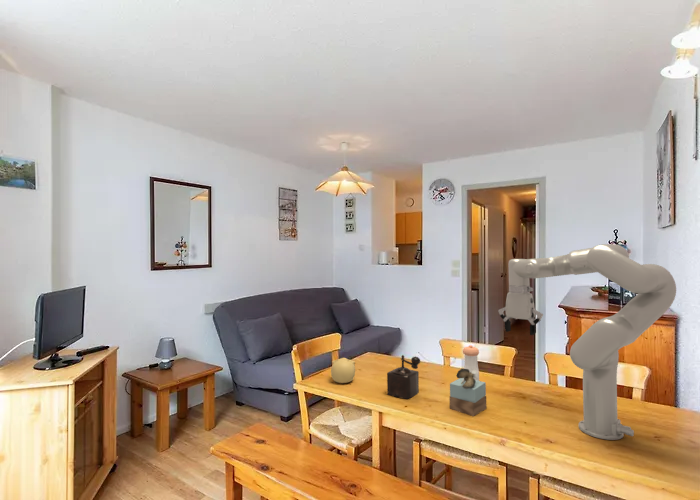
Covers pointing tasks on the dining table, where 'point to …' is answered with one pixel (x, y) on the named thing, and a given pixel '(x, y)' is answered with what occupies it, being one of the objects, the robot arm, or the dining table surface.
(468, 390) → the tower top
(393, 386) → the manual coffee grinder
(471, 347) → the pepper shaker
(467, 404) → the tower base
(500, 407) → the dining table surface
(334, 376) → the sculpture
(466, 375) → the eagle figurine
